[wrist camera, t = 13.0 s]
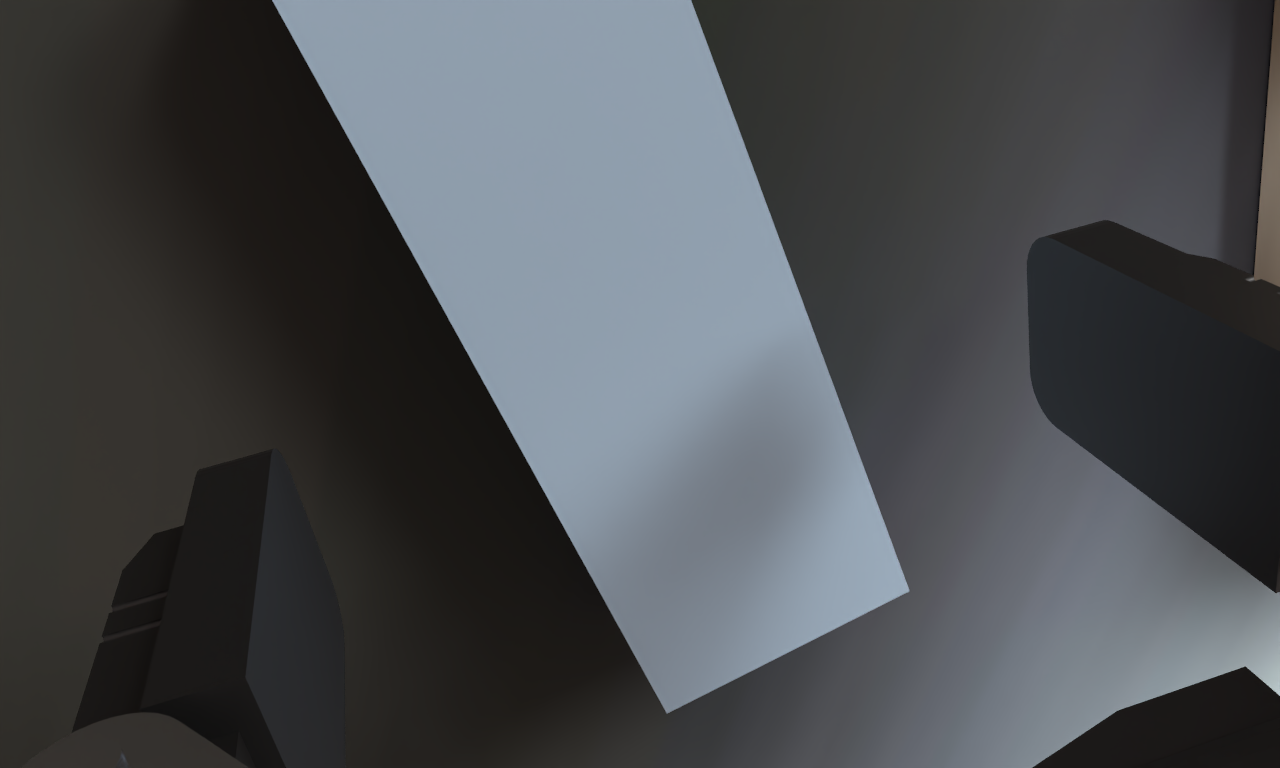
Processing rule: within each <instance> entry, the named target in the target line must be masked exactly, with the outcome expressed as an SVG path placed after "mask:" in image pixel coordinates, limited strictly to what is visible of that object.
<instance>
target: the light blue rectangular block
mask: <svg viewBox="0 0 1280 768" xmlns="http://www.w3.org/2000/svg"><path fill="white" fill-rule="evenodd" d="M272 1H273V3H274V4H275V6H276V8H277V10H278V12H279V13H280V15H281V17H282V19H283V21H284V23H285V24H286V26H287V28H288V30H289V32H290V33H291V35H292V37H293V39H294V41H295V42H296V44H297V46H298V48H299V50H300V51H301V53H302V55H303V57H304V59H305V60H306V62H307V64H308V66H309V68H310V70H311V71H312V73H313V75H314V77H315V79H316V80H317V82H318V84H319V86H320V88H321V89H322V91H323V93H324V95H325V97H326V98H327V100H328V102H329V104H330V106H331V107H332V109H333V111H334V113H335V115H336V116H337V118H338V120H339V122H340V124H341V126H342V127H343V129H344V131H345V133H346V135H347V136H348V138H349V140H350V142H351V144H352V145H353V147H354V149H355V151H356V153H357V154H358V156H359V158H360V160H361V162H362V163H363V165H364V167H365V169H366V171H367V173H368V174H369V176H370V178H371V180H372V182H373V183H374V185H375V187H376V189H377V191H378V192H379V194H380V196H381V198H382V200H383V201H384V203H385V205H386V207H387V209H388V210H389V212H390V214H391V216H392V218H393V220H394V221H395V223H396V225H397V227H398V229H399V230H400V232H401V234H402V236H403V238H404V239H405V241H406V243H407V245H408V247H409V248H410V250H411V252H412V254H413V256H414V257H415V259H416V261H417V263H418V265H419V267H420V268H421V270H422V272H423V274H424V276H425V277H426V279H427V281H428V283H429V285H430V286H431V288H432V290H433V292H434V294H435V295H436V297H437V299H438V301H439V303H440V304H441V306H442V308H443V310H444V312H445V313H446V315H447V317H448V319H449V321H450V323H451V324H452V326H453V328H454V330H455V332H456V333H457V335H458V337H459V339H460V341H461V342H462V344H463V346H464V348H465V350H466V351H467V353H468V355H469V357H470V359H471V360H472V362H473V364H474V366H475V368H476V370H477V371H478V373H479V375H480V377H481V379H482V380H483V382H484V384H485V386H486V388H487V389H488V391H489V393H490V395H491V397H492V398H493V400H494V402H495V404H496V406H497V407H498V409H499V411H500V413H501V415H502V417H503V418H504V420H505V422H506V424H507V426H508V427H509V429H510V431H511V433H512V435H513V436H514V438H515V440H516V442H517V444H518V445H519V447H520V449H521V451H522V453H523V454H524V456H525V458H526V460H527V462H528V464H529V465H530V467H531V469H532V471H533V473H534V474H535V476H536V478H537V480H538V482H539V483H540V485H541V487H542V489H543V491H544V492H545V494H546V496H547V498H548V500H549V501H550V503H551V505H552V507H553V509H554V510H555V512H556V514H557V516H558V518H559V520H560V521H561V523H562V525H563V527H564V529H565V530H566V532H567V534H568V536H569V538H570V539H571V541H572V543H573V545H574V547H575V548H576V550H577V552H578V554H579V556H580V557H581V559H582V561H583V563H584V565H585V567H586V568H587V570H588V572H589V574H590V576H591V577H592V579H593V581H594V583H595V585H596V586H597V588H598V590H599V592H600V594H601V595H602V597H603V599H604V601H605V603H606V604H607V606H608V608H609V610H610V612H611V614H612V615H613V617H614V619H615V621H616V623H617V624H618V626H619V628H620V630H621V632H622V633H623V635H624V637H625V639H626V641H627V642H628V644H629V646H630V648H631V650H632V651H633V653H634V655H635V657H636V659H637V661H638V662H639V664H640V666H641V668H642V670H643V671H644V673H645V675H646V677H647V679H648V680H649V682H650V684H651V686H652V688H653V689H654V691H655V693H656V695H657V697H658V698H659V700H660V702H661V704H662V706H663V707H664V709H665V711H666V713H669V712H671V711H673V710H675V709H677V708H679V707H681V706H683V705H685V704H687V703H689V702H691V701H693V700H695V699H697V698H699V697H701V696H703V695H705V694H707V693H709V692H711V691H713V690H715V689H717V688H719V687H721V686H723V685H725V684H727V683H728V682H730V681H732V680H734V679H736V678H738V677H740V676H742V675H744V674H746V673H748V672H750V671H752V670H754V669H756V668H758V667H760V666H762V665H764V664H766V663H768V662H770V661H772V660H774V659H776V658H778V657H780V656H782V655H784V654H786V653H788V652H790V651H792V650H794V649H796V648H798V647H800V646H802V645H804V644H806V643H808V642H810V641H812V640H814V639H816V638H818V637H820V636H822V635H824V634H826V633H827V632H829V631H831V630H833V629H835V628H837V627H839V626H841V625H843V624H845V623H847V622H849V621H851V620H853V619H855V618H857V617H859V616H861V615H863V614H865V613H867V612H869V611H871V610H873V609H875V608H877V607H879V606H881V605H883V604H885V603H887V602H889V601H891V600H893V599H895V598H897V597H899V596H901V595H903V594H905V593H907V592H909V588H908V586H907V583H906V580H905V578H904V575H903V572H902V569H901V567H900V564H899V561H898V559H897V556H896V553H895V551H894V548H893V545H892V542H891V540H890V537H889V534H888V532H887V529H886V526H885V523H884V521H883V518H882V515H881V513H880V510H879V507H878V505H877V502H876V499H875V496H874V494H873V491H872V488H871V486H870V483H869V480H868V477H867V475H866V472H865V469H864V467H863V464H862V461H861V459H860V456H859V453H858V450H857V448H856V445H855V442H854V440H853V437H852V434H851V432H850V429H849V426H848V423H847V421H846V418H845V415H844V413H843V410H842V407H841V404H840V402H839V399H838V396H837V394H836V391H835V388H834V386H833V383H832V380H831V377H830V375H829V372H828V369H827V367H826V364H825V361H824V358H823V356H822V353H821V350H820V348H819V345H818V342H817V340H816V337H815V334H814V331H813V329H812V326H811V323H810V321H809V318H808V315H807V312H806V310H805V307H804V304H803V302H802V299H801V296H800V294H799V291H798V288H797V285H796V283H795V280H794V277H793V275H792V272H791V269H790V267H789V264H788V261H787V258H786V256H785V253H784V250H783V248H782V245H781V242H780V239H779V237H778V234H777V231H776V229H775V226H774V223H773V221H772V218H771V215H770V212H769V210H768V207H767V204H766V202H765V199H764V196H763V193H762V191H761V188H760V185H759V183H758V180H757V177H756V175H755V172H754V169H753V166H752V164H751V161H750V158H749V156H748V153H747V150H746V147H745V145H744V142H743V139H742V137H741V134H740V131H739V129H738V126H737V123H736V120H735V118H734V115H733V112H732V110H731V107H730V104H729V102H728V99H727V96H726V93H725V91H724V88H723V85H722V83H721V80H720V77H719V74H718V72H717V69H716V66H715V64H714V61H713V58H712V56H711V53H710V50H709V47H708V45H707V42H706V39H705V37H704V34H703V31H702V28H701V26H700V23H699V20H698V18H697V15H696V12H695V10H694V7H693V4H692V1H691V0H272Z"/></svg>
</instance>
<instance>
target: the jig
mask: <svg viewBox="0 0 1280 768" xmlns="http://www.w3.org/2000/svg"><path fill="white" fill-rule="evenodd" d="M1259 279H1263V280H1265V281H1267V282H1270V283H1272V284H1274V285H1277V286H1279V287H1280V0H1275V7H1274V20H1273V33H1272V47H1271V60H1270V73H1269V86H1268V99H1267V112H1266V125H1265V138H1264V151H1263V164H1262V177H1261V191H1260V204H1259V217H1258V230H1257V243H1256V256H1255V269H1254V280H1255V281H1256V280H1259Z"/></svg>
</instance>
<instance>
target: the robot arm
mask: <svg viewBox="0 0 1280 768" xmlns="http://www.w3.org/2000/svg"><path fill="white" fill-rule="evenodd" d="M1027 285H1028V317H1029V349H1030V374H1031V381H1032V386H1033V389H1034V393H1035V396H1036V398H1037V401H1038V403H1039V405H1040V407H1041V409H1042V411H1043V412H1044V414H1045V415H1046V417H1047V418H1048V419H1049V420H1050V422H1051V423H1052V424H1053V425H1054V426H1056V427H1057V428H1058V429H1059V430H1061V431H1062V432H1063V433H1065V434H1066V435H1067V436H1069V437H1070V438H1071V439H1073V440H1074V441H1075V442H1076V443H1078V444H1079V445H1080V446H1082V447H1083V448H1084V449H1086V450H1087V451H1088V452H1090V453H1091V454H1092V455H1094V456H1095V457H1096V458H1098V459H1099V460H1100V461H1102V462H1103V463H1104V464H1106V465H1107V466H1108V467H1110V468H1111V469H1112V470H1114V471H1115V472H1116V473H1118V474H1119V475H1120V476H1122V477H1123V478H1124V479H1125V480H1127V481H1128V482H1129V483H1131V484H1132V485H1133V486H1135V487H1136V488H1137V489H1139V490H1140V491H1141V492H1143V493H1144V494H1145V495H1147V496H1148V497H1149V498H1151V499H1152V500H1153V501H1155V502H1156V503H1157V504H1159V505H1160V506H1161V507H1163V508H1164V509H1165V510H1167V511H1168V512H1169V513H1170V514H1172V515H1173V516H1174V517H1176V518H1177V519H1178V520H1180V521H1181V522H1182V523H1184V524H1185V525H1186V526H1188V527H1189V528H1190V529H1192V530H1193V531H1194V532H1196V533H1197V534H1198V535H1200V536H1201V537H1202V538H1204V539H1205V540H1206V541H1208V542H1209V543H1210V544H1212V545H1213V546H1214V547H1215V548H1217V549H1218V550H1219V551H1221V552H1222V553H1223V554H1225V555H1226V556H1227V557H1229V558H1230V559H1231V560H1233V561H1234V562H1235V563H1237V564H1238V565H1239V566H1241V567H1242V568H1243V569H1245V570H1246V571H1247V572H1249V573H1250V574H1251V575H1253V576H1254V577H1255V578H1257V579H1258V580H1259V581H1261V582H1262V583H1263V584H1264V585H1266V586H1267V587H1268V588H1270V589H1271V590H1272V591H1274V592H1275V593H1278V592H1280V287H1279V286H1277V285H1274V284H1272V283H1270V282H1267V281H1265V280H1263V279H1259V280H1256V281H1255V280H1254V277H1253V275H1251V274H1248V273H1246V272H1244V271H1241V270H1239V269H1237V268H1234V267H1232V266H1230V265H1227V264H1225V263H1223V262H1220V261H1218V260H1216V259H1212V258H1207V257H1202V256H1196V255H1191V254H1186V253H1184V252H1181V251H1179V250H1177V249H1174V248H1172V247H1170V246H1168V245H1165V244H1163V243H1161V242H1158V241H1156V240H1154V239H1151V238H1149V237H1147V236H1145V235H1142V234H1140V233H1138V232H1135V231H1133V230H1131V229H1128V228H1126V227H1124V226H1122V225H1119V224H1117V223H1115V222H1112V221H1108V220H1103V221H1099V222H1096V223H1092V224H1088V225H1085V226H1081V227H1078V228H1074V229H1070V230H1067V231H1063V232H1059V233H1056V234H1052V235H1049V236H1045V237H1042V238H1039V239H1037V240H1036V241H1035V242H1034V243H1033V244H1032V246H1031V248H1030V251H1029V254H1028V260H1027ZM112 609H113V612H112V613H109V616H108V619H107V622H106V625H105V628H104V631H103V635H102V637H103V640H104V642H103V643H100V644H99V647H98V651H97V654H96V657H95V660H94V663H93V666H92V670H91V673H90V676H89V679H88V682H87V686H86V689H85V692H84V695H83V698H82V701H81V705H80V708H79V711H78V714H77V717H76V721H75V724H74V727H73V730H72V733H71V734H69V735H67V736H65V737H63V738H62V739H60V740H58V741H56V742H55V743H53V744H52V745H50V746H49V747H47V748H45V749H44V750H42V751H41V752H40V753H38V754H37V755H36V756H34V757H33V758H32V759H30V760H29V761H28V762H26V763H25V764H24V765H23V766H22V767H21V768H345V654H344V630H343V624H342V618H341V613H340V608H339V604H338V600H337V596H336V593H335V590H334V586H333V583H332V580H331V578H330V575H329V572H328V570H327V567H326V564H325V562H324V559H323V557H322V554H321V551H320V549H319V546H318V544H317V541H316V538H315V536H314V533H313V530H312V528H311V525H310V523H309V520H308V517H307V515H306V512H305V510H304V507H303V504H302V502H301V499H300V497H299V494H298V491H297V489H296V486H295V484H294V481H293V478H292V476H291V473H290V471H289V468H288V466H287V464H286V462H285V460H284V458H283V456H282V455H281V453H280V452H279V451H278V450H277V449H272V450H268V451H265V452H261V453H257V454H254V455H250V456H247V457H243V458H239V459H236V460H232V461H229V462H225V463H221V464H218V465H214V466H211V467H207V468H203V469H200V470H198V472H197V474H196V477H195V482H194V486H193V490H192V494H191V498H190V502H189V507H188V511H187V515H186V519H185V523H184V526H180V527H177V528H173V529H170V530H166V531H163V532H159V533H156V534H154V535H153V536H152V537H151V539H150V540H149V541H148V542H147V543H146V544H145V545H144V547H143V548H142V549H141V550H140V551H139V552H138V553H137V555H136V556H135V557H134V558H133V559H132V560H131V562H130V563H129V564H128V565H127V566H126V567H125V568H124V570H123V571H122V574H121V577H120V581H119V584H118V587H117V590H116V593H115V596H114V600H113V603H112ZM1033 768H1280V696H1279V695H1278V694H1277V693H1276V692H1274V691H1273V690H1272V689H1271V688H1270V687H1269V686H1267V685H1266V684H1265V683H1264V682H1263V681H1262V680H1261V679H1259V678H1258V677H1257V676H1256V675H1255V674H1254V673H1252V672H1251V671H1250V670H1249V669H1248V668H1247V667H1243V668H1240V669H1237V670H1234V671H1231V672H1228V673H1225V674H1223V675H1220V676H1217V677H1214V678H1211V679H1208V680H1205V681H1202V682H1199V683H1197V684H1194V685H1191V686H1188V687H1185V688H1182V689H1179V690H1176V691H1173V692H1171V693H1168V694H1165V695H1162V696H1159V697H1156V698H1153V699H1150V700H1148V701H1145V702H1142V703H1139V704H1136V705H1133V706H1130V707H1127V708H1124V709H1122V710H1119V711H1117V712H1115V713H1114V714H1112V715H1111V716H1109V717H1108V718H1106V719H1105V720H1103V721H1102V722H1100V723H1099V724H1097V725H1096V726H1094V727H1093V728H1091V729H1090V730H1088V731H1087V732H1085V733H1084V734H1082V735H1081V736H1079V737H1078V738H1076V739H1075V740H1073V741H1072V742H1070V743H1069V744H1067V745H1066V746H1064V747H1063V748H1061V749H1060V750H1058V751H1057V752H1055V753H1054V754H1052V755H1051V756H1049V757H1048V758H1046V759H1045V760H1043V761H1042V762H1040V763H1039V764H1037V765H1036V766H1034V767H1033Z"/></svg>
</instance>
